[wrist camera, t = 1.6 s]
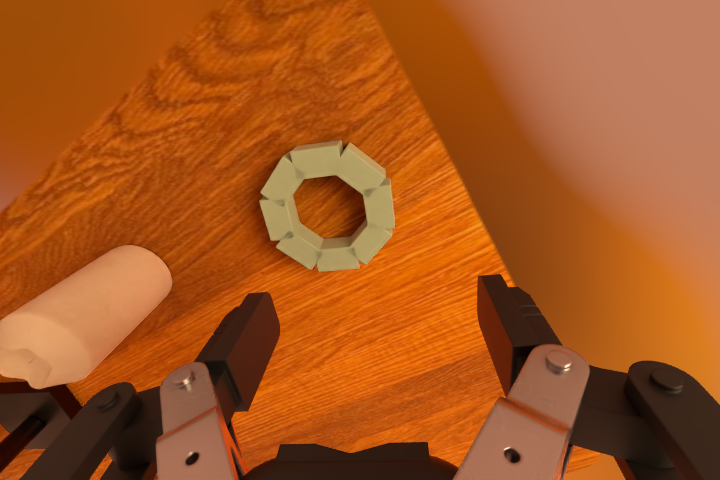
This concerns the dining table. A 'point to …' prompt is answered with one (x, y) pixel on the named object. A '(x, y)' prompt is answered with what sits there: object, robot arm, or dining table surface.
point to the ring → (355, 173)
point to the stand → (33, 417)
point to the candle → (82, 317)
